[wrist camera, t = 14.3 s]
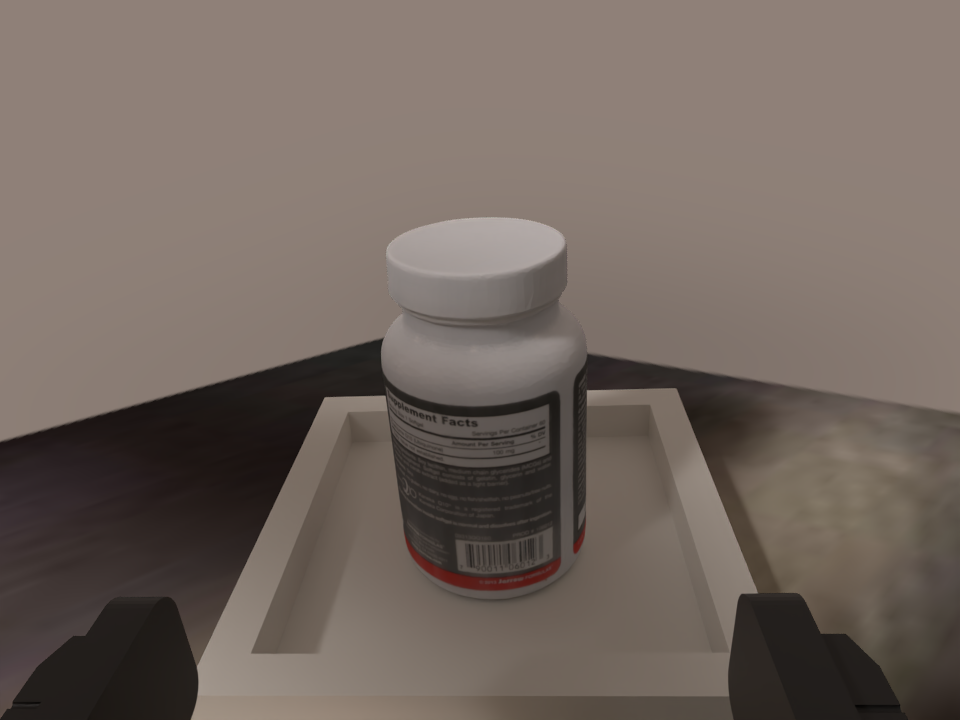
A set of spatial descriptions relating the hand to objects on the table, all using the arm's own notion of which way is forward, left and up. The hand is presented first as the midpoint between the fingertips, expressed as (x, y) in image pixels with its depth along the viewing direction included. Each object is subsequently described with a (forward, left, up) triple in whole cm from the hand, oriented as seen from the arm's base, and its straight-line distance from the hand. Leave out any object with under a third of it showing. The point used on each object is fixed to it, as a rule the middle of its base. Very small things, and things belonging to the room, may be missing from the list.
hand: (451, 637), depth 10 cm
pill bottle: (0, +11, -8) cm, 13 cm away
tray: (0, +11, -8) cm, 13 cm away
